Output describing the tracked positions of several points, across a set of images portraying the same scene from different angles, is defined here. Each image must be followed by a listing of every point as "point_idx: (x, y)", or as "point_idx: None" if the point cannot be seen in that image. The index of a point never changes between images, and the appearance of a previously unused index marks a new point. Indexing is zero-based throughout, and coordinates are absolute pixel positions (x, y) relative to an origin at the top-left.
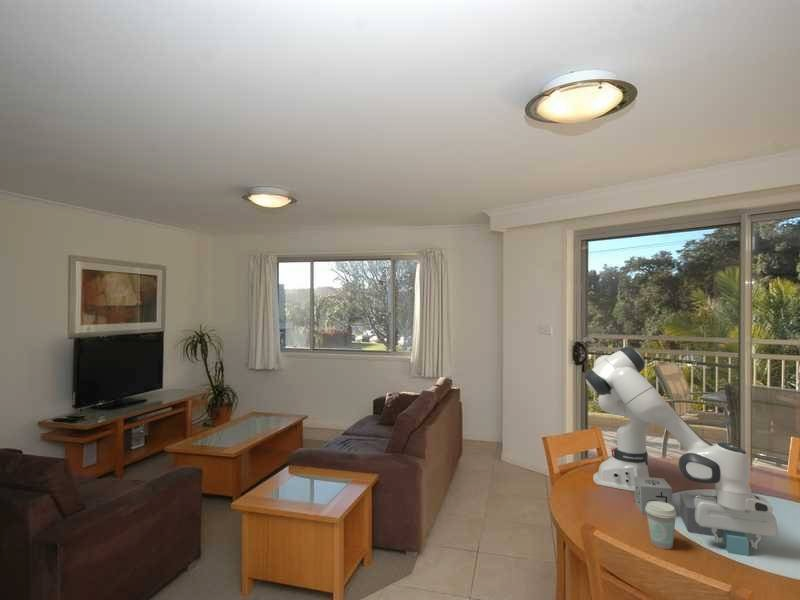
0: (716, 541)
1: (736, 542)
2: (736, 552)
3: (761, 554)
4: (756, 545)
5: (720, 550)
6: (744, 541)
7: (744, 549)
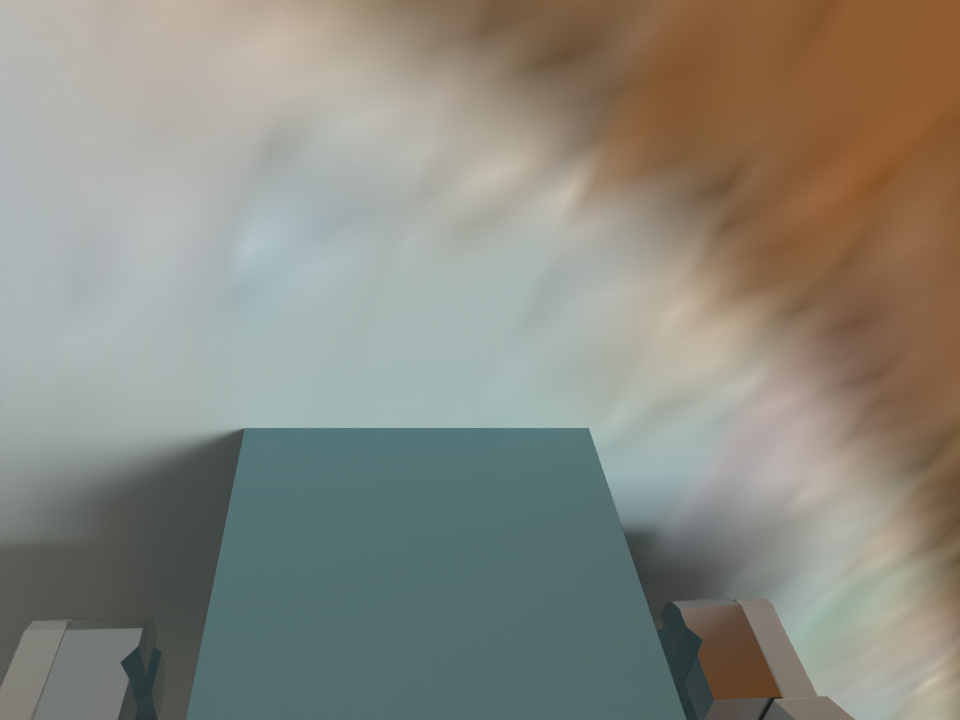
0: (772, 614)
1: (473, 636)
2: (458, 454)
3: (3, 548)
4: (17, 682)
5: (687, 469)
6: (282, 700)
7: (308, 521)
